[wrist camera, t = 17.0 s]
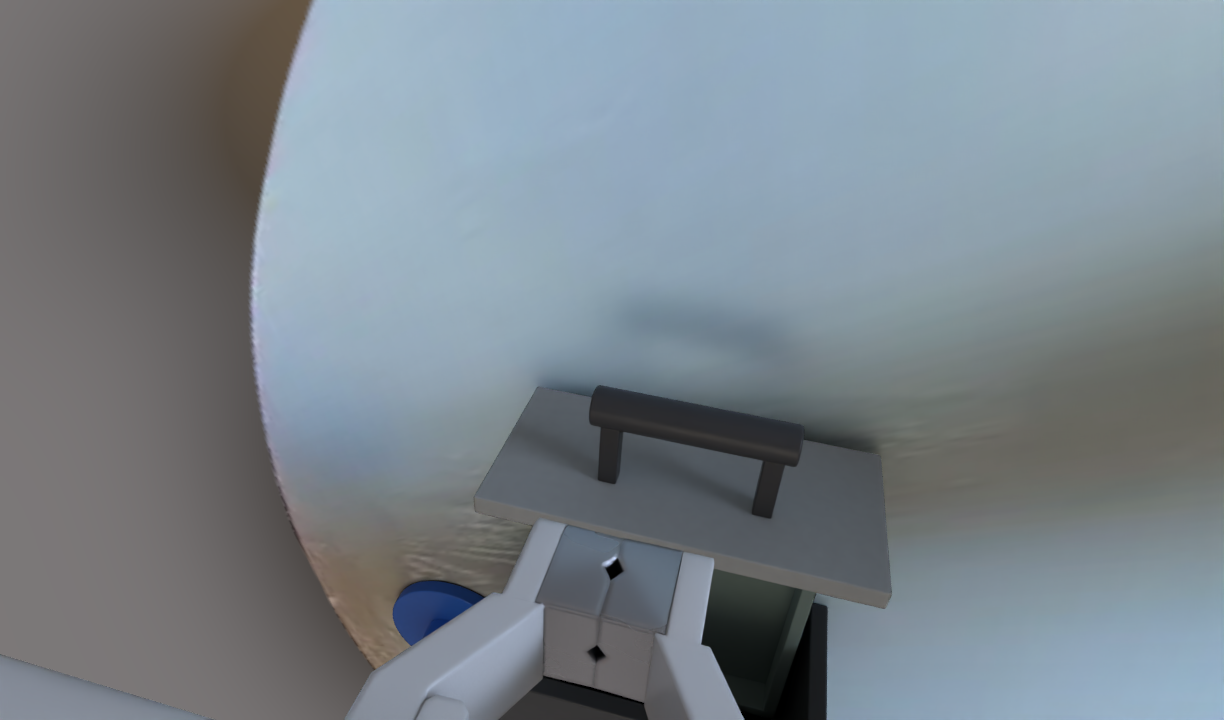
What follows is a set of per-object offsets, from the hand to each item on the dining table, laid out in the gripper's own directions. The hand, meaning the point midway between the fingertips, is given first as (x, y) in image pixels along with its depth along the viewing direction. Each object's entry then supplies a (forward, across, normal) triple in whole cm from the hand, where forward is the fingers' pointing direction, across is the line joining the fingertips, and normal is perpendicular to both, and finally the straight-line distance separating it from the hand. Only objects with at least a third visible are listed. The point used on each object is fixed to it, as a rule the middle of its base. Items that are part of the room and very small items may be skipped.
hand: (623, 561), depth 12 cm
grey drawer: (+16, 0, +15) cm, 22 cm away
